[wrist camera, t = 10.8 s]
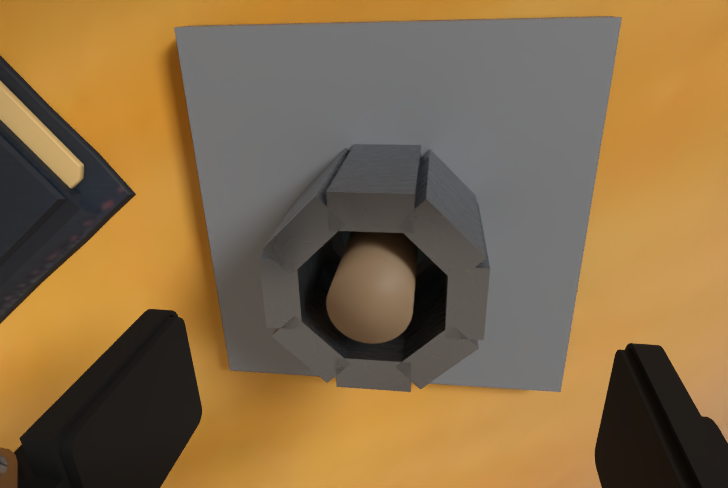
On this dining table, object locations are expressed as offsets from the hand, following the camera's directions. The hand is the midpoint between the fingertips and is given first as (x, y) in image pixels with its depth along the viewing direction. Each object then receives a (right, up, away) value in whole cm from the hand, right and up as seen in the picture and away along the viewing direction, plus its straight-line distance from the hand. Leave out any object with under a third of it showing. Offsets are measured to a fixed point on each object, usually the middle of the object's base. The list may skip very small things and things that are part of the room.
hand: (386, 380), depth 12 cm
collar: (0, +3, +8) cm, 9 cm away
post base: (+1, +4, +9) cm, 10 cm away
